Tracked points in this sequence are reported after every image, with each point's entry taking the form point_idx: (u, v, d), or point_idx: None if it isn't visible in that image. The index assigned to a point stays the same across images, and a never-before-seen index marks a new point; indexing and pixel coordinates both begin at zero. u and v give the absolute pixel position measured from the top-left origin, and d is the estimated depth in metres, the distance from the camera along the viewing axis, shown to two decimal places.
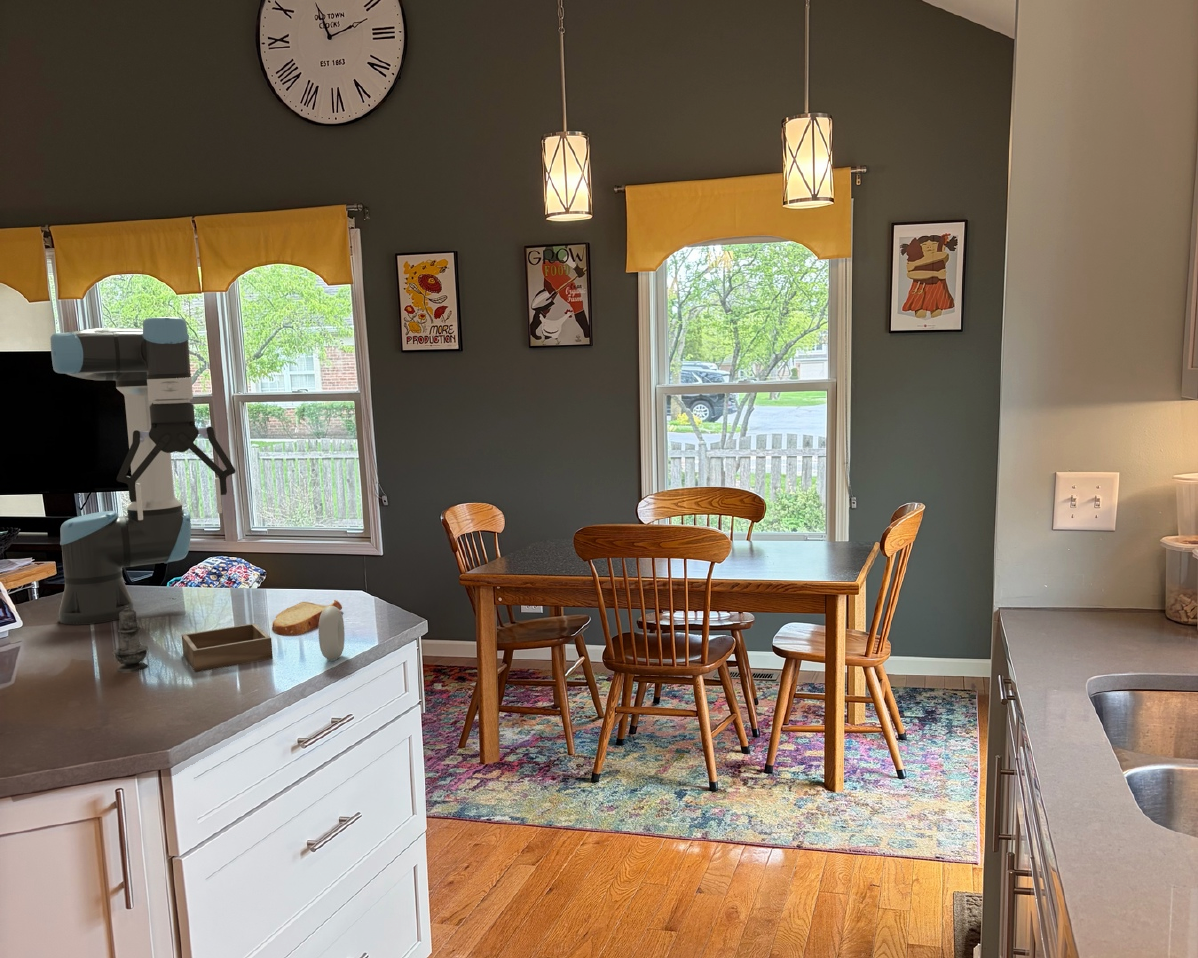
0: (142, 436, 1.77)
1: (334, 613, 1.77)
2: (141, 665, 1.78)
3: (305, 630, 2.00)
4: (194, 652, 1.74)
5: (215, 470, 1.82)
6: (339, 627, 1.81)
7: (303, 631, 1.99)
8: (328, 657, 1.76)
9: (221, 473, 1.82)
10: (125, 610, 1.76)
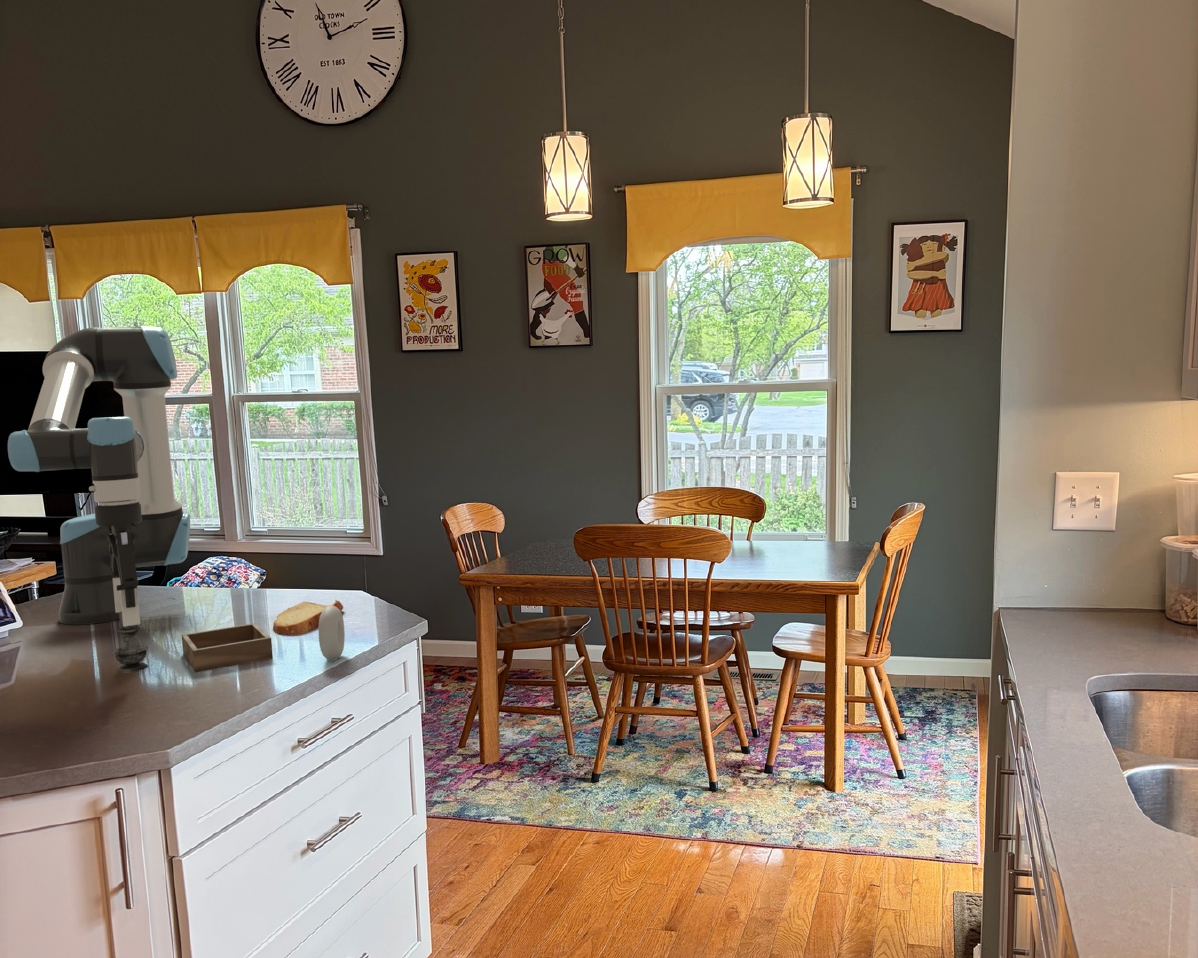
0: None
1: (334, 613, 1.77)
2: (141, 665, 1.78)
3: (306, 630, 2.00)
4: (194, 652, 1.74)
5: (120, 580, 1.70)
6: (339, 627, 1.81)
7: (304, 631, 1.99)
8: (328, 657, 1.76)
9: (120, 584, 1.69)
10: None
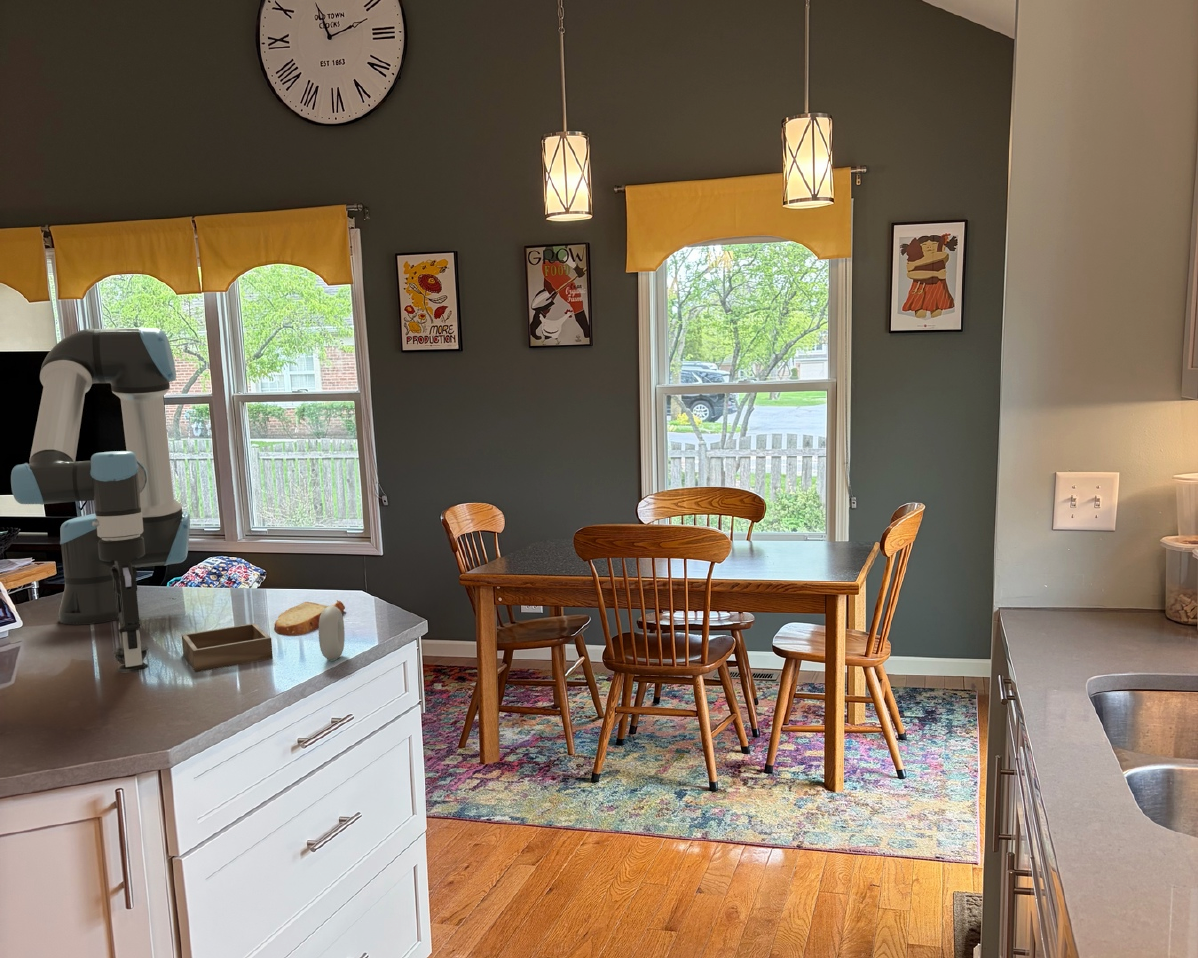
0: None
1: (334, 613, 1.77)
2: (141, 665, 1.78)
3: (307, 630, 1.99)
4: (194, 652, 1.74)
5: (122, 620, 1.73)
6: (339, 627, 1.81)
7: (305, 631, 1.99)
8: (328, 657, 1.76)
9: (123, 626, 1.73)
10: None
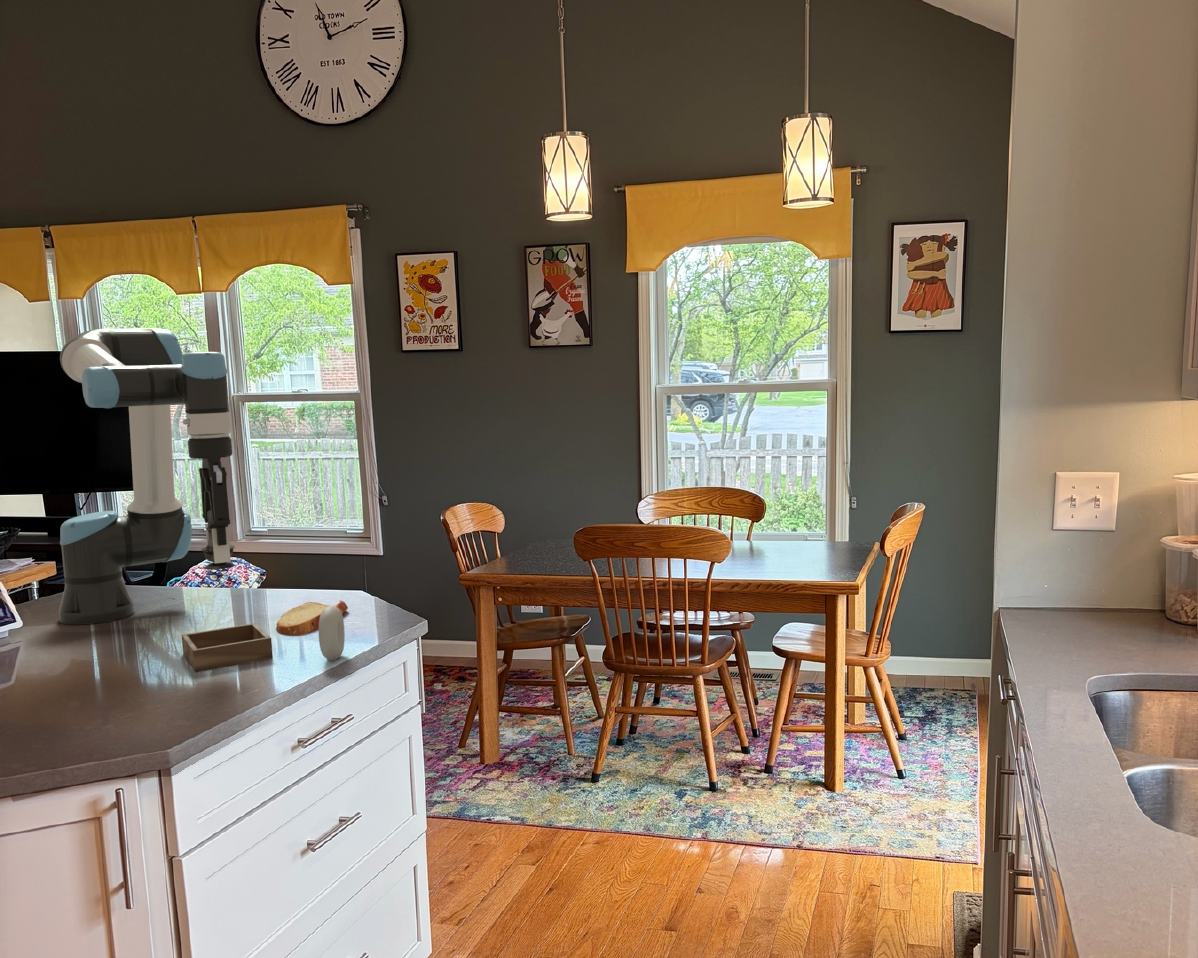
0: None
1: (334, 613, 1.77)
2: (228, 563, 1.81)
3: (308, 630, 1.99)
4: (194, 652, 1.74)
5: (212, 517, 1.77)
6: (339, 627, 1.81)
7: (306, 631, 1.99)
8: (328, 657, 1.76)
9: (213, 523, 1.76)
10: None
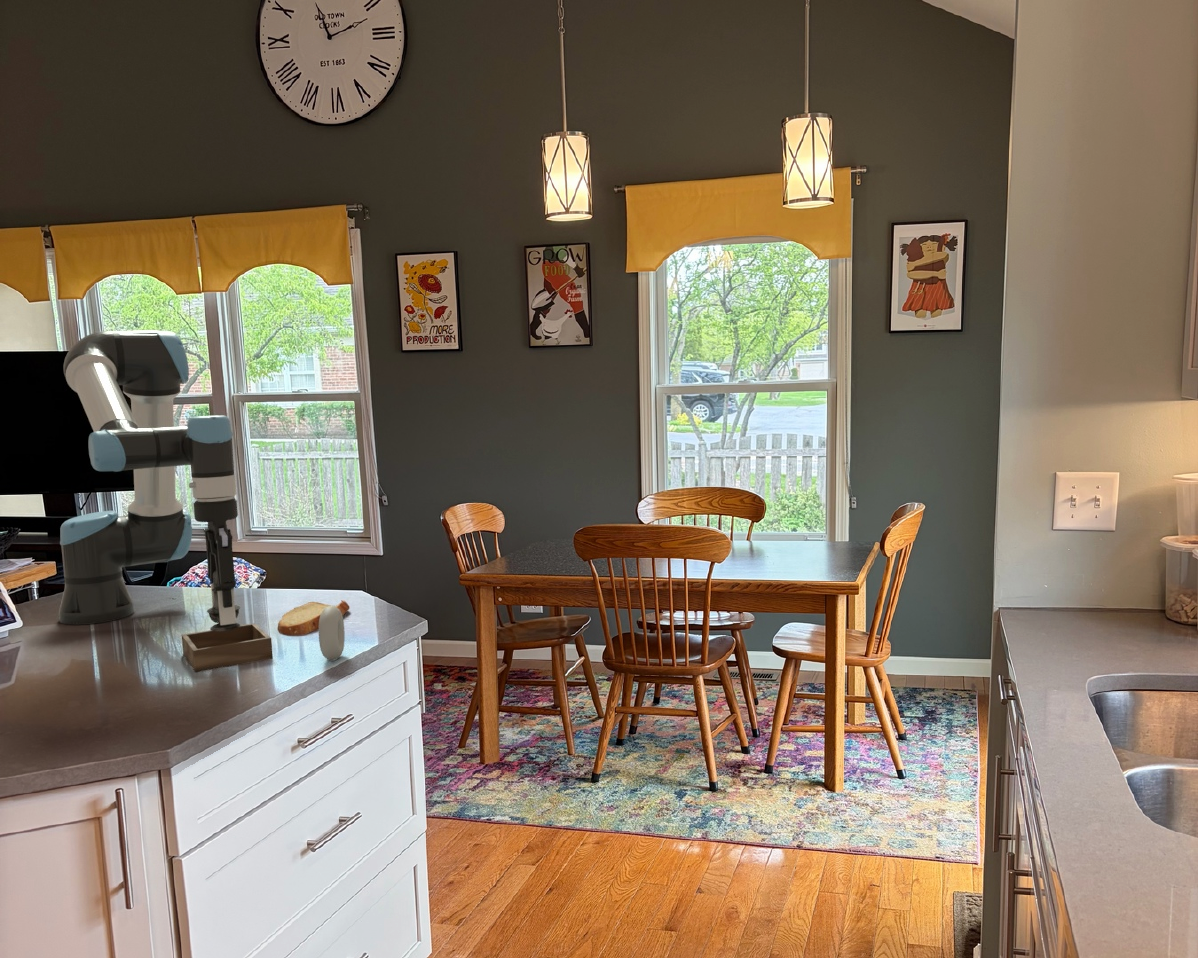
0: None
1: (334, 613, 1.77)
2: (234, 624, 1.83)
3: (309, 630, 1.99)
4: (194, 652, 1.74)
5: (218, 580, 1.78)
6: (339, 627, 1.81)
7: (307, 631, 1.99)
8: (328, 657, 1.76)
9: (218, 585, 1.78)
10: None
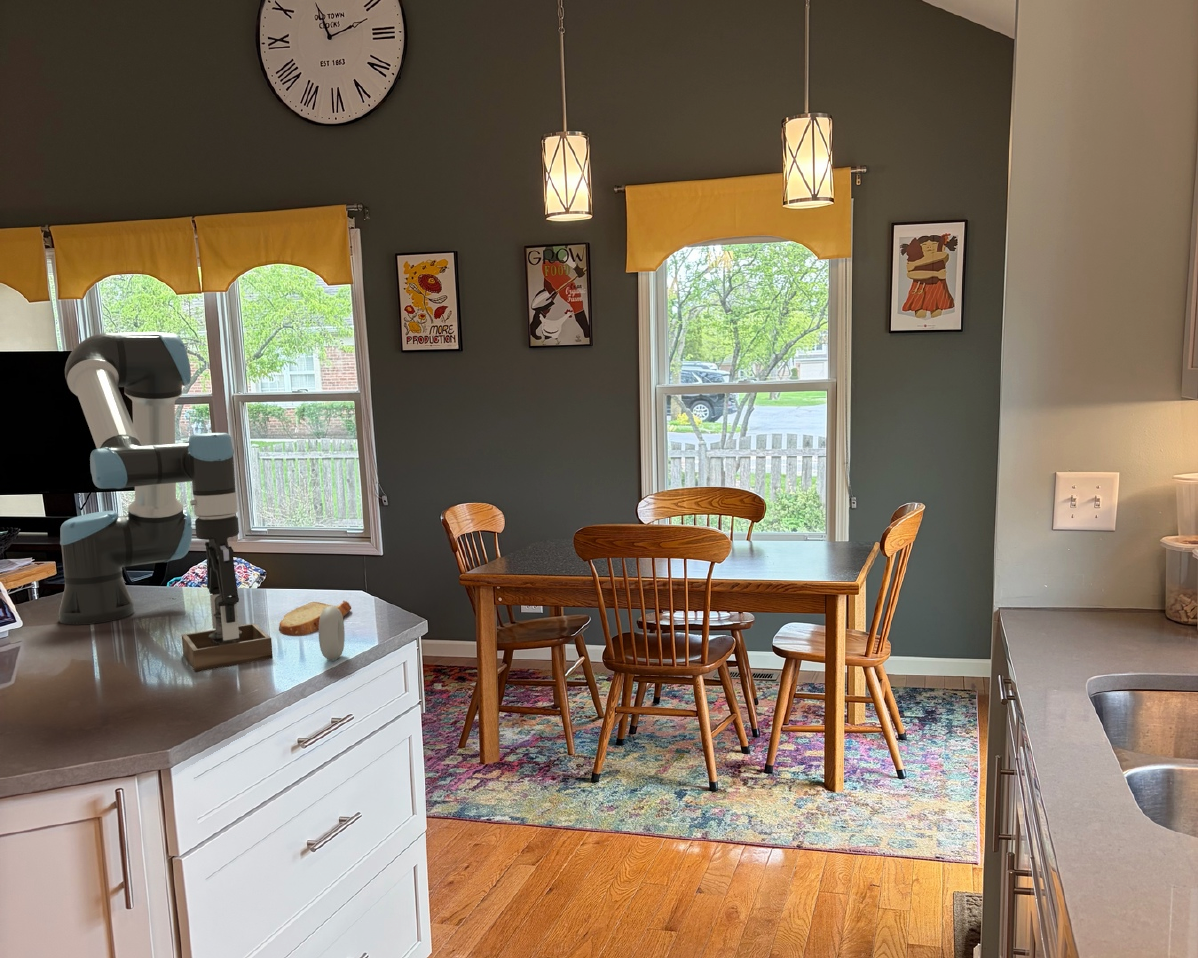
0: None
1: (334, 613, 1.77)
2: None
3: (310, 631, 1.99)
4: (194, 652, 1.74)
5: (220, 595, 1.77)
6: (339, 627, 1.81)
7: (308, 632, 1.99)
8: (328, 657, 1.76)
9: (221, 600, 1.76)
10: None
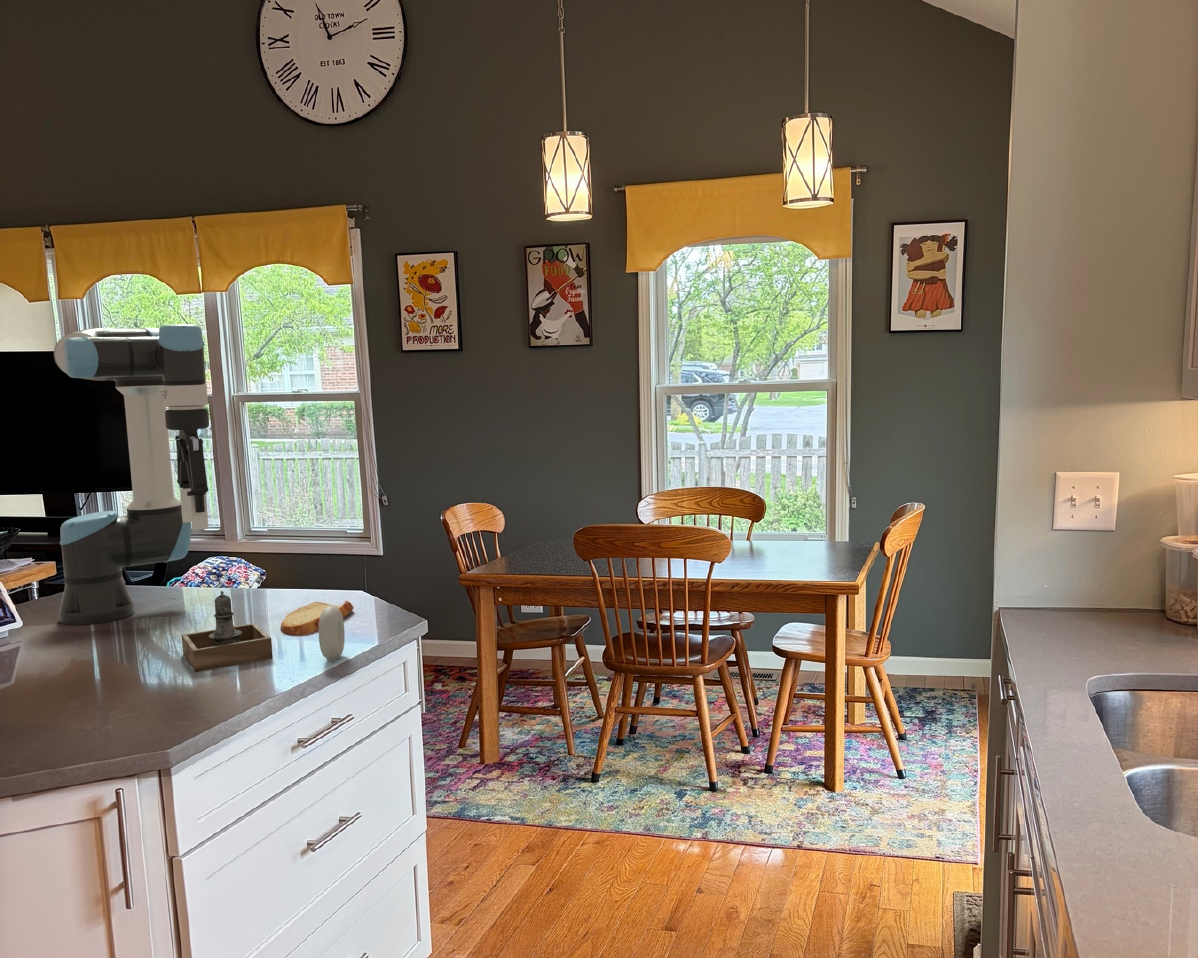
0: None
1: (334, 613, 1.77)
2: None
3: (311, 631, 1.99)
4: (194, 652, 1.74)
5: (190, 485, 1.78)
6: (339, 627, 1.81)
7: (309, 632, 1.99)
8: (328, 657, 1.76)
9: (191, 490, 1.78)
10: (220, 596, 1.82)
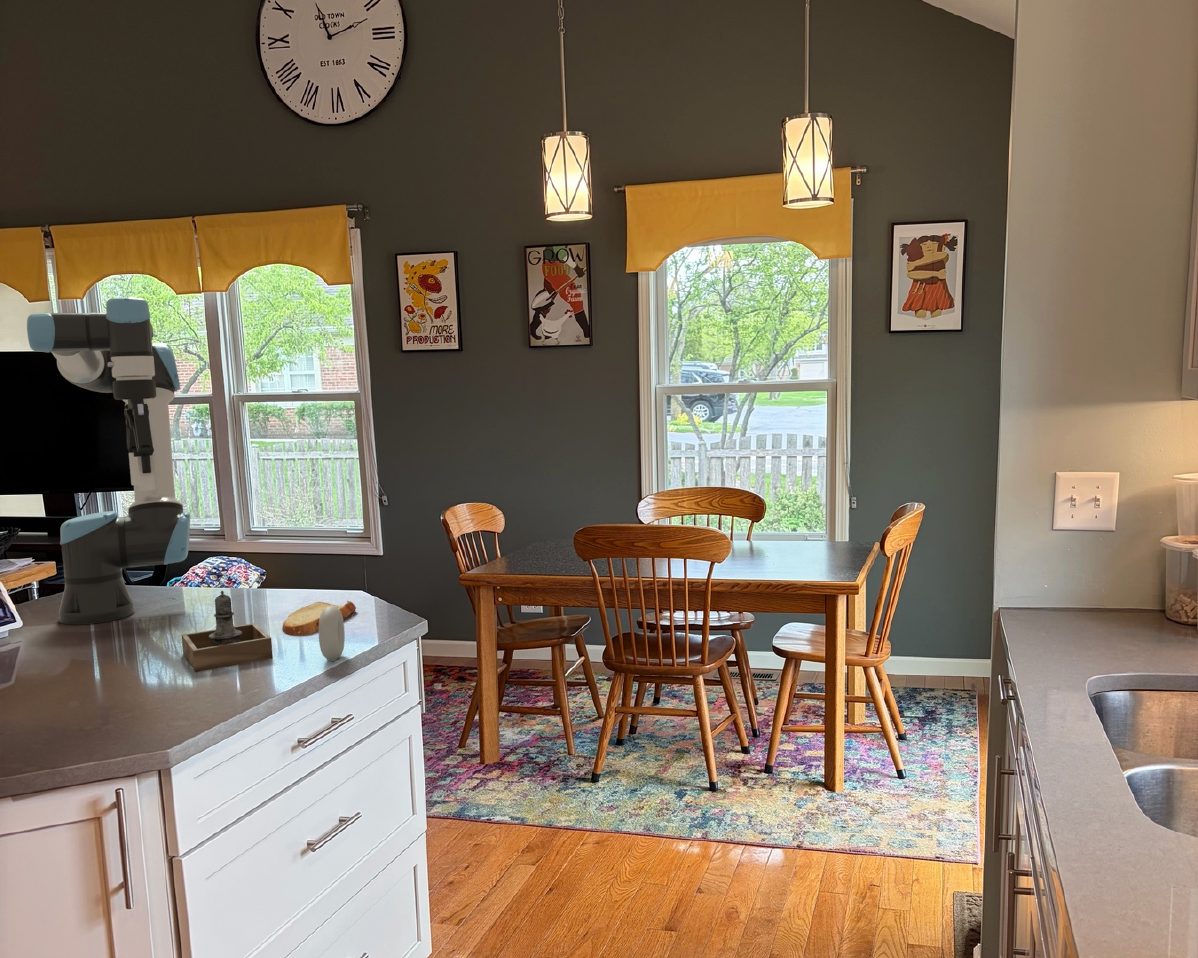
0: None
1: (334, 613, 1.77)
2: None
3: (313, 631, 1.99)
4: (194, 652, 1.74)
5: (136, 448, 1.83)
6: (339, 627, 1.81)
7: (311, 632, 1.98)
8: (328, 657, 1.76)
9: (137, 451, 1.83)
10: (221, 596, 1.82)
